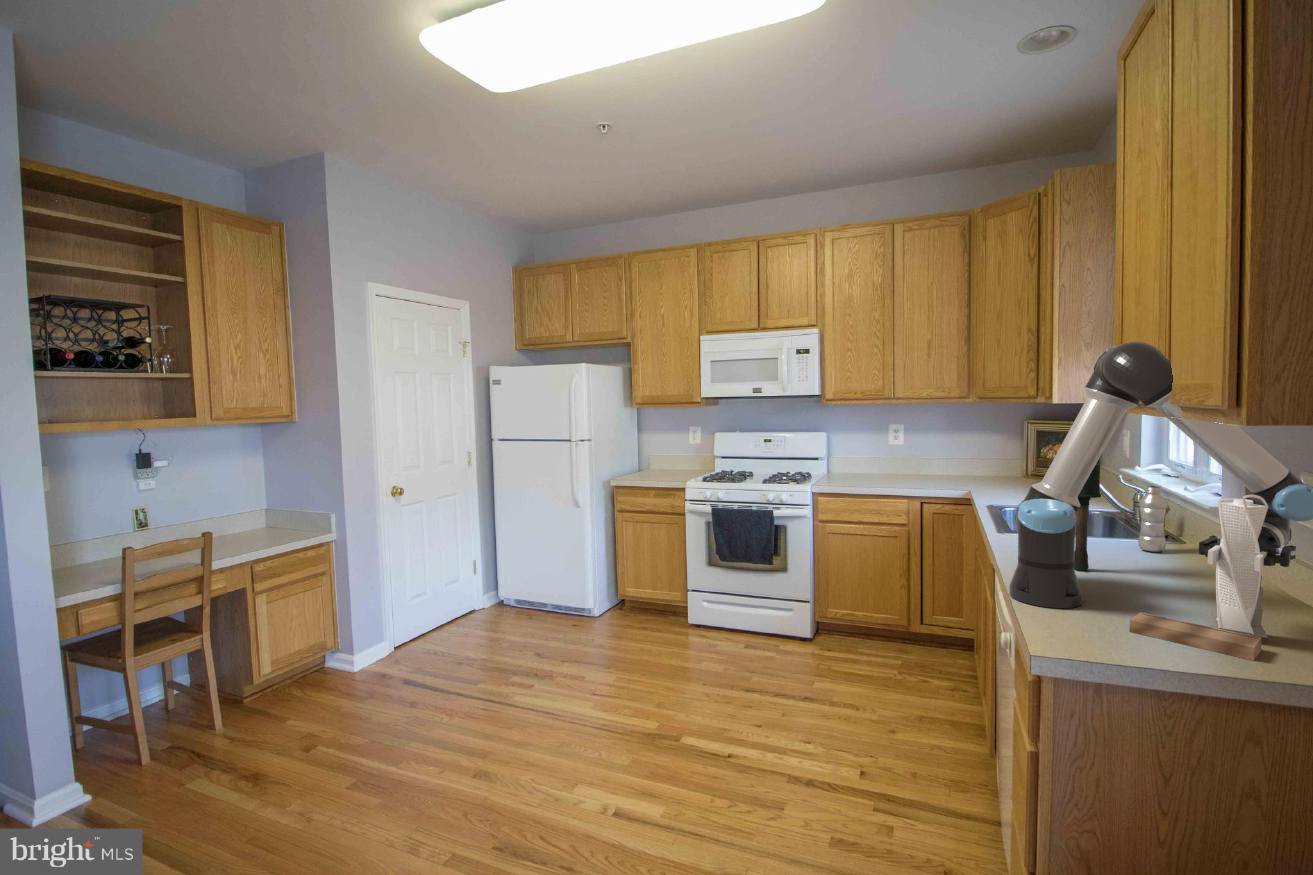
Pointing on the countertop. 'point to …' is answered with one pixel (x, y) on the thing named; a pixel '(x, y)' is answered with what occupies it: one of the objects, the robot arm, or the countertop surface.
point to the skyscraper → (1240, 567)
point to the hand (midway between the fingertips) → (1233, 560)
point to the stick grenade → (1085, 518)
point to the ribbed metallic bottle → (1152, 520)
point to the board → (1197, 635)
